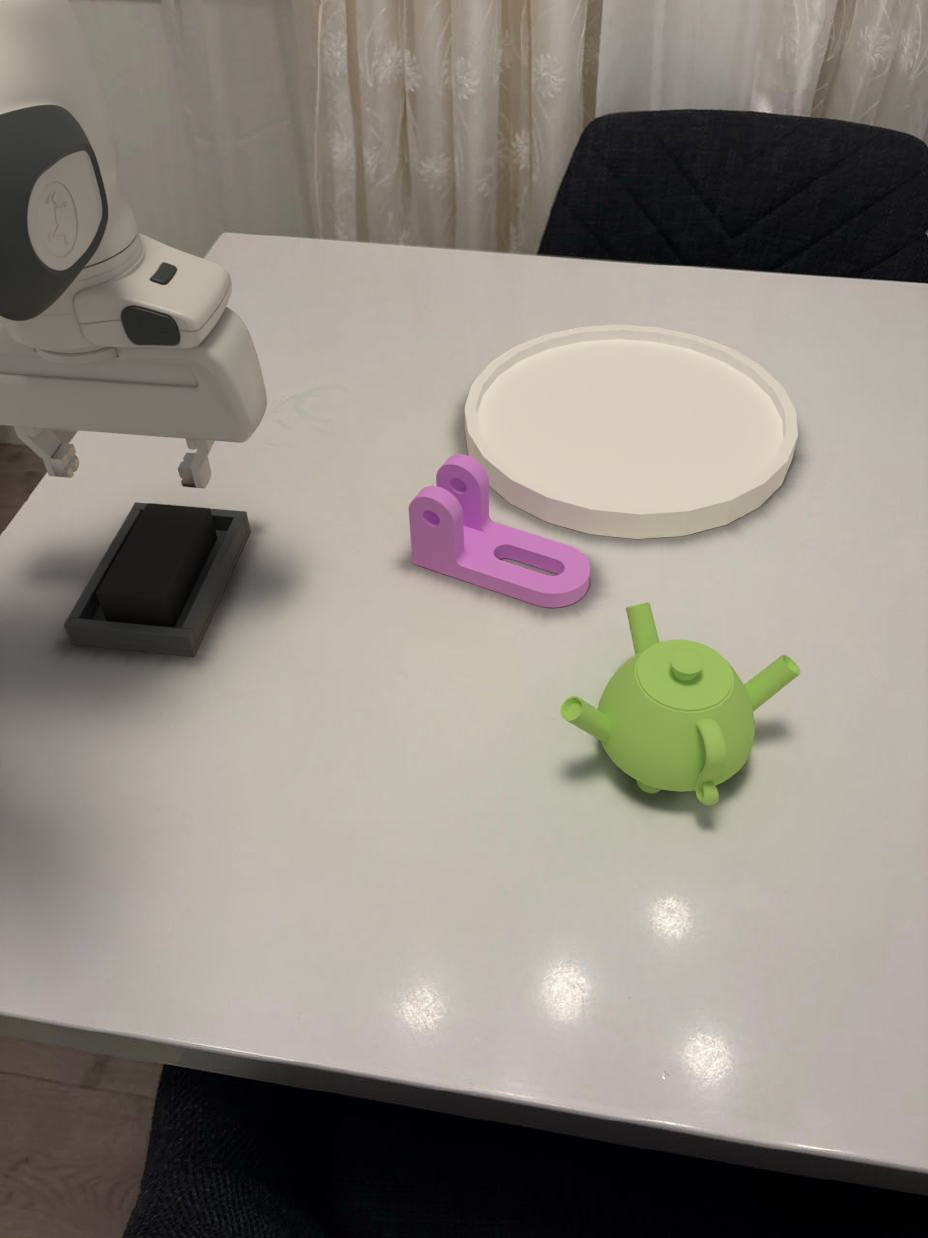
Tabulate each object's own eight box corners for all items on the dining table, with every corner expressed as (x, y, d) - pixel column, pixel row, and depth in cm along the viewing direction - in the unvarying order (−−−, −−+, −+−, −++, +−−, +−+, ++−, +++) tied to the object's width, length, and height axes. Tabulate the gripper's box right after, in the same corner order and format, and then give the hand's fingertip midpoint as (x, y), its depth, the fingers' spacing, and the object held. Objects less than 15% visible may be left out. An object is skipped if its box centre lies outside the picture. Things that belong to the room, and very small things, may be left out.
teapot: (718, 856, 61) (743, 768, 55) (545, 773, 65) (550, 683, 59) (785, 727, 67) (813, 636, 61) (624, 659, 72) (636, 568, 66)
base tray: (194, 657, 73) (188, 637, 71) (71, 644, 74) (62, 624, 72) (251, 530, 82) (246, 511, 81) (141, 521, 83) (134, 501, 82)
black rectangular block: (173, 629, 74) (164, 599, 72) (106, 623, 75) (95, 593, 72) (217, 537, 81) (210, 507, 79) (156, 532, 81) (147, 502, 79)
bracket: (412, 563, 79) (407, 490, 74) (446, 520, 83) (443, 448, 78) (571, 616, 75) (576, 543, 70) (600, 569, 78) (607, 496, 73)
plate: (863, 472, 86) (871, 447, 84) (572, 583, 77) (574, 558, 75) (666, 320, 104) (669, 297, 102) (411, 397, 95) (409, 373, 93)
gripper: (-121, 303, 60) (-35, 494, 70) (222, 323, 58) (261, 518, 67) (-65, 253, 64) (8, 439, 74) (255, 270, 62) (287, 460, 72)
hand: (131, 477), depth 71 cm, fingers open, 8 cm apart
